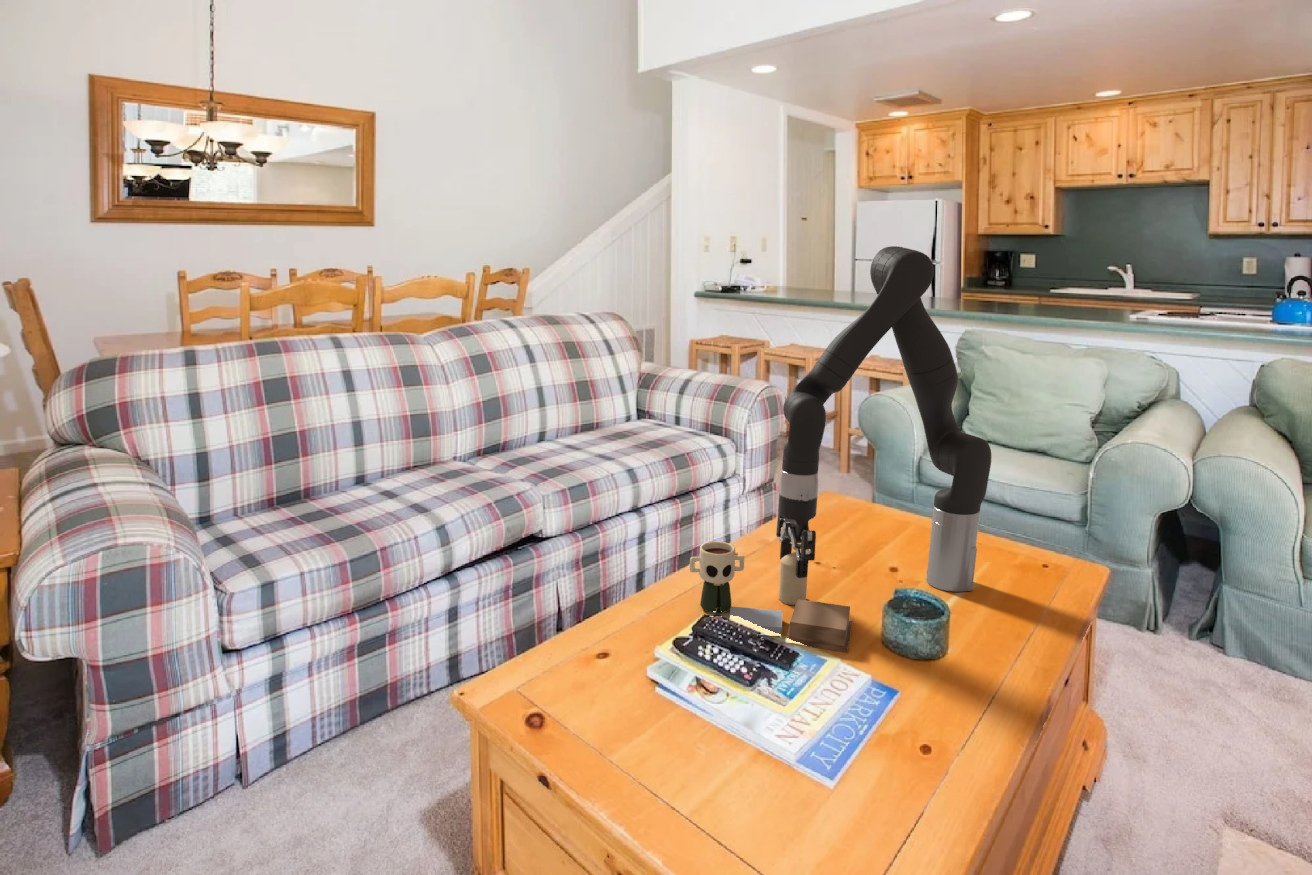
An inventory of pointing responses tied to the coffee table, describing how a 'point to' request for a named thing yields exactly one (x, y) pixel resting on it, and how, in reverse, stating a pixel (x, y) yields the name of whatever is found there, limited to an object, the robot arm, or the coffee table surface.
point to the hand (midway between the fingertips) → (793, 568)
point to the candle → (791, 581)
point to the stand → (820, 625)
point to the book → (760, 617)
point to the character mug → (716, 574)
